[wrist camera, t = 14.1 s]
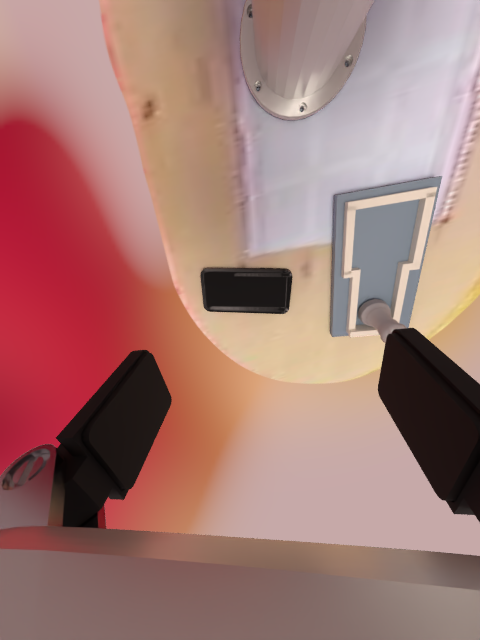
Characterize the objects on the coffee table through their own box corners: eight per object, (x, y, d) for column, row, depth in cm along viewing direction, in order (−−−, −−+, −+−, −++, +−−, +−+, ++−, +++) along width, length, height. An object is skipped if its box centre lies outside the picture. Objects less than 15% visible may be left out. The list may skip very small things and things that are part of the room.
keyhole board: (333, 195, 30) (341, 194, 27) (433, 177, 28) (454, 174, 25) (329, 332, 40) (335, 343, 37) (402, 326, 38) (414, 337, 35)
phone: (288, 314, 38) (204, 311, 40) (287, 311, 39) (205, 308, 40) (293, 269, 34) (199, 268, 36) (292, 267, 35) (201, 266, 37)
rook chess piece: (374, 292, 34) (402, 316, 27) (392, 309, 35) (424, 336, 28) (350, 311, 36) (371, 338, 29) (368, 327, 37) (392, 356, 30)
